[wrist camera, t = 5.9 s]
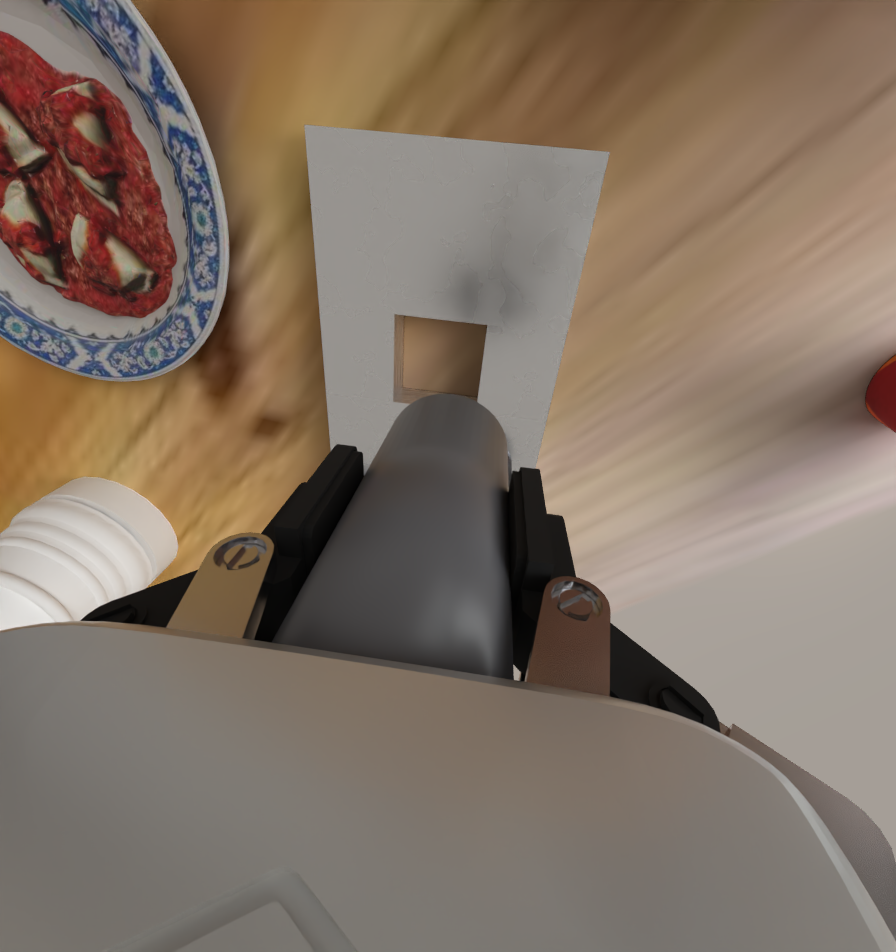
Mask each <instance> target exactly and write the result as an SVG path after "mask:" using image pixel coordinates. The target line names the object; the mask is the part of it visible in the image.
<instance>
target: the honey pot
mask: <svg viewBox="0 0 896 952" xmlns="http://www.w3.org/2000/svg"><path fill="white" fill-rule="evenodd" d="M177 550H178V543H177V538H176V534H175V532H174V530H173V528H172V526H171V524H170V523H169V522H168V520H167V519H166V518H165V516H164V515H163V514H162V513H161V511H160V510H158V509H157V508H156V507H155V506H154V505H153V504H152V503H151V502H150V501H148V500H147V499H146V498H144V497H143V496H141V495H140V494H138V493H137V492H135V491H134V490H132V489H130V488H128V487H126V486H124V485H121V484H119V483H117V482H114V481H111V480H107V479H103V478H99V477H81V478H77V479H73V480H71V481H70V482H68V483H66V484H64V485H63V486H61V487H59V488H58V489H56V490H54V491H53V492H51V493H49V494H48V495H46V496H44V497H42V498H41V499H40V500H39V501H36V502H35V503H33V504H32V505H31V506H28V507H26V508H24V509H23V510H22V511H21V512H19V513H18V514H17V515H16V516H15V517H14V518H12V521H11V524H10V526H9V527H8V528H7V529H5V530H4V531H3V532H2V533H1V534H0V631H1V630H5V629H10V628H15V627H22V626H28V625H34V624H40V623H52V622H68V621H80V620H81V619H83V618H84V617H85V616H86V615H87V614H88V613H90V612H91V611H93V610H94V609H96V608H98V607H99V606H101V605H104V604H106V603H108V602H110V601H113V600H116V599H118V598H121V597H124V596H127V595H129V594H132V593H135V592H138V591H140V590H143V589H146V588H147V586H148V585H149V584H151V583H152V582H153V581H154V580H155V579H156V578H157V577H158V576H159V575H160V574H161V573H162V572H163V571H164V570H165V569H166V568H167V567H168V566H169V565H170V564H171V562H172V561H173V560H174V558H175V557H176V555H177Z"/></svg>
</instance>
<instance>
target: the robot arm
mask: <svg viewBox="0 0 896 952" xmlns="http://www.w3.org/2000/svg"><path fill="white" fill-rule="evenodd" d="M363 477H364V464H363V453H362V452H359V451H357V447H356V446H349V445H341V444H336V445H335V447H334V448H333V449H332V450H331V452H330V453H329V454H328V456H327V457H326V458H325V460H324V461H323V462H322V463H321V465H320V466H319V467H318V469H317V470H316V471H315V473H314V474H313V475H312V476H311V478H310V479H309V480H308V482H304V483H301V484H300V485H299V486H298V487H297V489H296V490H295V491H294V492H293V494H292V495H291V496H290V498H289V499H288V500H287V501H286V503H285V504H284V505H283V506H282V508H281V509H280V510H279V511H278V513H277V514H276V515H275V516H274V518H273V519H272V520H271V522H270V523H269V524H268V525H267V527H266V528H265V529H264V530H263V532H262V533H261V534H260V533H251V532H249V533H240V534H236V535H233V536H229V537H227V538H225V539H223V540H221V541H219V542H218V543H217V544H215V545H214V546H213V547H212V548H211V549H210V551H209V552H208V553H207V555H206V557H205V559H204V560H203V562H202V564H201V566H200V568H199V569H198V570H196V571H193V572H190V573H188V574H185V575H182V576H179V577H177V578H174V579H171V580H168V581H165V582H163V583H160V584H157V585H154V586H152V587H149V588H146V589H143V590H140V591H138V592H135V593H132V594H129V595H127V596H124V597H121V598H118V599H116V600H113V601H110V602H108V603H106V604H104V605H101V606H99V607H98V608H96V609H94V610H93V611H91V612H90V613H88V614H87V615H86V616H85V617H84V618H83V619H81V620H80V621H68V622H52V623H40V624H34V625H28V626H22V627H15V628H10V629H5V630H1V631H0V952H896V862H895V859H894V855H893V852H892V848H891V846H890V845H889V843H888V841H887V840H886V838H885V837H884V835H883V833H882V831H881V830H880V829H879V827H878V826H877V825H876V824H875V823H874V822H873V821H872V820H871V818H870V817H869V816H868V815H867V814H866V813H865V812H864V811H863V810H862V809H860V808H859V807H858V806H857V805H855V804H854V803H853V802H851V801H850V800H849V799H848V798H846V797H845V796H843V795H842V794H840V793H839V792H837V791H836V790H834V789H833V788H831V787H829V786H828V785H826V784H824V783H823V782H822V781H820V780H819V779H817V778H816V777H814V776H813V775H811V774H809V773H808V772H806V771H805V770H803V769H802V768H800V767H799V766H797V765H796V764H794V763H793V762H791V761H790V760H788V759H787V758H785V757H783V756H782V755H780V754H779V753H777V752H776V751H774V750H773V749H771V748H770V747H768V746H767V745H765V744H764V743H762V742H760V741H759V740H757V739H756V738H754V737H753V736H751V735H750V734H748V733H747V732H745V731H744V730H742V729H741V728H739V727H737V726H736V725H734V724H732V725H731V726H730V727H729V728H728V727H727V726H725V725H724V724H722V723H721V722H719V721H718V719H717V716H716V714H715V712H714V710H713V708H712V707H711V706H710V704H709V703H708V702H707V700H706V699H705V698H704V697H703V696H702V695H701V694H700V693H699V692H697V690H695V689H694V688H693V687H692V686H690V685H689V684H688V683H687V682H685V681H684V680H683V679H682V678H680V677H679V676H678V675H677V674H675V673H674V672H673V671H671V670H670V669H669V668H668V667H666V666H665V665H664V664H662V663H661V662H660V661H658V660H657V659H656V658H655V657H653V656H652V655H651V654H650V653H648V652H647V651H646V650H645V649H643V648H642V647H641V646H639V645H638V644H637V643H636V642H634V641H633V640H632V639H630V638H629V637H628V636H627V635H625V634H624V633H623V632H622V631H620V630H619V629H618V628H616V627H615V626H614V625H613V624H611V623H610V606H609V602H608V600H607V599H606V597H605V595H604V594H603V593H602V592H601V591H600V590H599V589H598V588H597V587H596V586H594V585H593V584H591V583H590V582H588V581H585V580H583V579H580V578H577V577H576V574H575V570H574V565H573V560H572V556H571V551H570V546H569V541H568V537H567V532H566V527H565V523H564V519H563V517H562V516H559V515H552V514H547V513H546V506H545V500H544V494H543V487H542V481H541V475H540V470H539V469H534V468H526V467H520V469H519V471H512V475H511V480H510V486H509V491H508V507H509V549H510V590H511V601H512V639H513V664H514V665H515V666H516V668H517V669H518V670H519V671H520V676H519V681H516V680H510V679H504V678H497V677H491V676H485V675H479V674H472V673H466V672H460V671H453V670H447V669H441V668H435V667H428V666H422V665H415V664H409V663H402V662H396V661H389V660H383V659H376V658H370V657H363V656H357V655H350V654H344V653H337V652H330V651H324V650H317V649H311V648H304V647H297V646H291V645H284V644H277V643H271V642H272V640H273V639H274V637H275V635H276V633H277V631H278V630H279V628H280V626H281V624H282V622H283V621H284V619H285V617H286V615H287V614H288V612H289V610H290V608H291V606H292V605H293V603H294V601H295V599H296V597H297V596H298V594H299V592H300V590H301V588H302V587H303V585H304V583H305V581H306V579H307V578H308V576H309V574H310V572H311V570H312V569H313V567H314V565H315V563H316V561H317V560H318V558H319V556H320V554H321V553H322V551H323V549H324V547H325V545H326V544H327V542H328V540H329V538H330V536H331V535H332V533H333V531H334V529H335V527H336V526H337V524H338V522H339V520H340V518H341V517H342V515H343V513H344V511H345V509H346V508H347V506H348V504H349V502H350V500H351V499H352V497H353V495H354V493H355V491H356V490H357V488H358V486H359V484H360V483H361V481H362V479H363Z"/></svg>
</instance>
